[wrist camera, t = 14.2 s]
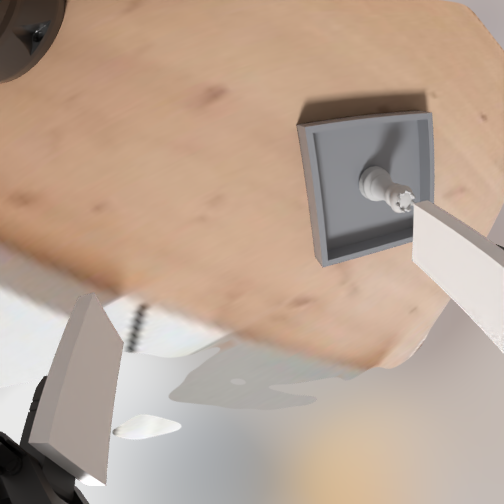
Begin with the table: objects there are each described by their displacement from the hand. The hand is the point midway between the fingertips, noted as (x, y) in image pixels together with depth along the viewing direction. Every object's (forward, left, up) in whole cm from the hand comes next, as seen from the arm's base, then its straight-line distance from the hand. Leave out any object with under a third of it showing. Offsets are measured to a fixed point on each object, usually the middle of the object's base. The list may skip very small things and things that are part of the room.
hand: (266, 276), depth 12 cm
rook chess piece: (+7, +18, -26) cm, 32 cm away
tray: (+7, +18, -26) cm, 33 cm away
